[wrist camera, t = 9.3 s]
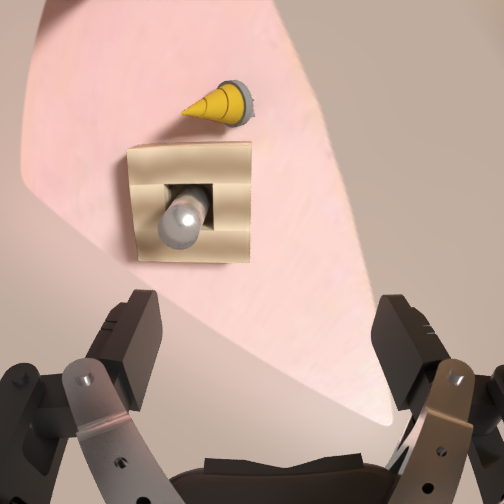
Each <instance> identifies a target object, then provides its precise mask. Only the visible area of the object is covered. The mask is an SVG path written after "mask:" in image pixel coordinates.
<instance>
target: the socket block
mask: <svg viewBox="0 0 504 504" xmlns="http://www.w3.org/2000/svg"><path fill="white" fill-rule="evenodd" d="M251 161H252V142H240V141H222V142H179V143H158V144H142V145H136V146H134V147H132V148H129V149H127V163H128V176H129V187H130V197H131V206H132V215H133V223H134V231H135V239H136V246H137V253H138V260H139V261H157V262H209V263H250V223H251ZM190 184H199V185H202V186H203V187H205V188H206V189H207V190H208V192H209V193H210V196H211V204H210V207H209V209H208V212H207V214H206V217H205V220H204V222H203V225H202V228H201V230H200V233H199V236H198V238H197V240H196V242H195V243H194V244H193V245H192V246H191V247H189V248H187V249H184V250H176V249H172V248H170V247H168V246H166V245H165V244H164V243H163V242H162V241H161V239H160V237H159V235H158V223H159V221H160V219H161V218H162V216H163V215H164V213H165V212H166V211H167V209H168V208H169V207H170V205H171V204H172V202H173V201H174V200H175V198H176V197H177V196H178V194H179V193H180V192H181V190H182V189H183V188H184V187H185V186H187V185H190Z"/></svg>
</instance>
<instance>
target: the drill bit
mask: <svg viewBox="0 0 504 504" xmlns="http://www.w3.org/2000/svg"><path fill="white" fill-rule="evenodd" d="M181 114H182V115H187V116H193V117H198V118H203V119H209V120H214V121H219V122H223V123H224V124H225V125H227V126H229V127H237V126H241V125H244V124H246V123H247V122H248V121H249V119H250V117H255V114H254V110H253V99H252V97H251V94H250V91H249V90H248V88H247V87H246V86H245V84H243V83H242V82H240V81H238V80H230V81H224V82H222V83H221V84H220V85H219V86H218V87H217V90H215V91H213V92H212V93H210V94H209V95H207V96H205V97H204V98H203V99H201V100H199V101H198V102H196V103H195V104H193V105H192V106H190V107H189V108H188V109H187V110H184V111H183V112H181Z"/></svg>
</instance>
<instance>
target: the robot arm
mask: <svg viewBox="0 0 504 504" xmlns="http://www.w3.org/2000/svg"><path fill="white" fill-rule="evenodd" d="M161 340H162V321H161V315H160V310H159V303H158V297H157V293H156V291H155V290H134V291H133V293H132V295H131V296H130V298H129V300H128V302H127V303H122V302H121V303H119V304H118V305H117V306H116V307H114V308H113V309H112V310H111V311H110V313H109V314H108V316H107V318H106V320H105V322H104V324H103V325H102V327H101V330H99V332H98V334H97V336H96V338H95V340H94V341H93V343H92V345H91V347H90V349H89V351H88V353H87V355H86V357H85V358H82V359H78V360H76V361H74V362H72V363H70V364H69V365H68V366H67V367H66V368H65V370H64V371H63V373H62V374H52V375H40V374H39V372H38V370H37V369H36V367H35V366H33V365H32V364H29V363H19V364H16V365H14V366H12V367H11V368H9V369H8V370H7V371H6V372H5V374H4V375H3V377H2V379H1V380H0V504H50V500H51V497H52V492H53V489H54V485H55V482H56V478H57V474H58V471H59V467H60V464H61V461H62V457H63V454H64V451H65V447H66V444H67V441H68V438H70V437H77V438H78V441H79V444H80V446H81V449H82V452H83V454H84V457H85V459H86V461H87V464H88V466H89V468H90V471H91V473H92V475H93V477H94V480H95V482H96V484H97V486H98V488H99V490H100V492H101V495H102V497H103V499H104V501H105V503H106V504H452V503H453V500H454V497H455V494H456V491H457V488H458V485H459V482H460V479H461V475H462V472H463V468H464V464H465V461H466V457H467V454H468V456H469V459H470V462H471V465H472V468H473V471H474V474H475V477H476V480H477V484H478V487H479V490H480V493H481V497H482V500H483V504H504V442H503V439H502V437H501V435H500V432H499V430H498V428H497V424H498V423H499V422H500V421H501V419H502V420H503V422H504V365H500V366H498V367H497V368H496V369H495V371H494V372H493V374H492V376H484V375H475V374H474V372H473V370H472V369H471V367H469V366H468V365H467V364H466V363H464V362H463V361H460V360H457V359H451V357H450V356H449V354H448V352H447V351H446V349H445V347H444V346H443V344H442V343H441V341H440V339H439V338H438V336H437V335H436V334H435V331H434V330H433V328H432V327H431V326H430V324H429V322H428V321H427V319H426V317H425V316H424V315H423V314H422V313H420V312H419V311H418V310H417V309H416V308H414V307H411V306H410V305H409V303H408V302H407V300H406V299H405V297H404V296H403V295H401V294H399V295H383V296H382V297H381V298H380V301H379V305H378V309H377V312H376V315H375V319H374V322H373V326H372V329H371V341H372V345H373V347H374V350H375V352H376V355H377V357H378V360H379V362H380V365H381V367H382V370H383V372H384V375H385V377H386V380H387V382H388V385H389V388H390V390H391V393H392V396H393V398H394V401H395V403H396V406H397V409H398V411H401V410H406V409H410V410H411V412H412V414H411V416H410V417H409V419H408V422H407V424H406V426H405V428H404V431H403V433H402V435H401V438H400V440H399V442H398V444H397V446H396V448H395V451H394V453H393V455H392V457H391V459H390V460H389V462H388V464H387V465H386V467H385V468H384V467H381V466H377V465H373V464H368V463H363V460H362V456H361V453H358V454H350V455H341V456H332V457H324V458H321V459H318V460H314V461H311V462H307V463H304V464H301V465H297V466H293V467H289V468H280V467H275V466H270V465H264V464H260V463H256V462H251V461H247V460H231V459H211V458H205V462H204V468H198V469H194V470H190V471H186V472H183V473H181V474H178V475H176V476H174V477H172V478H171V479H169V480H168V478H167V477H166V475H165V474H164V472H163V470H162V469H161V467H160V466H159V464H158V463H157V461H156V460H155V458H154V456H153V455H152V453H151V451H150V450H149V448H148V446H147V445H146V443H145V442H144V440H143V438H142V436H141V434H140V433H139V431H138V429H137V428H136V426H135V424H134V422H133V420H132V418H131V417H130V415H129V413H128V412H129V410H133V411H140V409H141V406H142V403H143V399H144V396H145V392H146V389H147V386H148V382H149V379H150V376H151V373H152V369H153V366H154V363H155V359H156V356H157V353H158V350H159V347H160V344H161Z"/></svg>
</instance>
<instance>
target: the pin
mask: <svg viewBox="0 0 504 504" xmlns="http://www.w3.org/2000/svg"><path fill="white" fill-rule="evenodd" d="M210 204H211V196H210V193H209V192H208V190H207V189H206V188H205V187H203V186H202V185H199V184H190V185H187V186H185V187H184V188H183V189H182V190H181V192H180V193H179V194H178V196H177V197H176V198H175V200H174V201H173V202H172V204H171V205H170V207H169V208H168V209H167V211H166V212H165V213H164V215H163V216H162V218H161V219H160V221H159V223H158V235H159V237H160V239H161V241H162V242H163V243H164V244H165V245H166V246H168V247H170V248H172V249H176V250H184V249H187V248H189V247H191V246H192V245H193V244H194V243H195V242H196V240H197V238H198V236H199V233H200V230H201V228H202V225H203V222H204V220H205V217H206V214H207V212H208V209H209V207H210Z"/></svg>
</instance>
